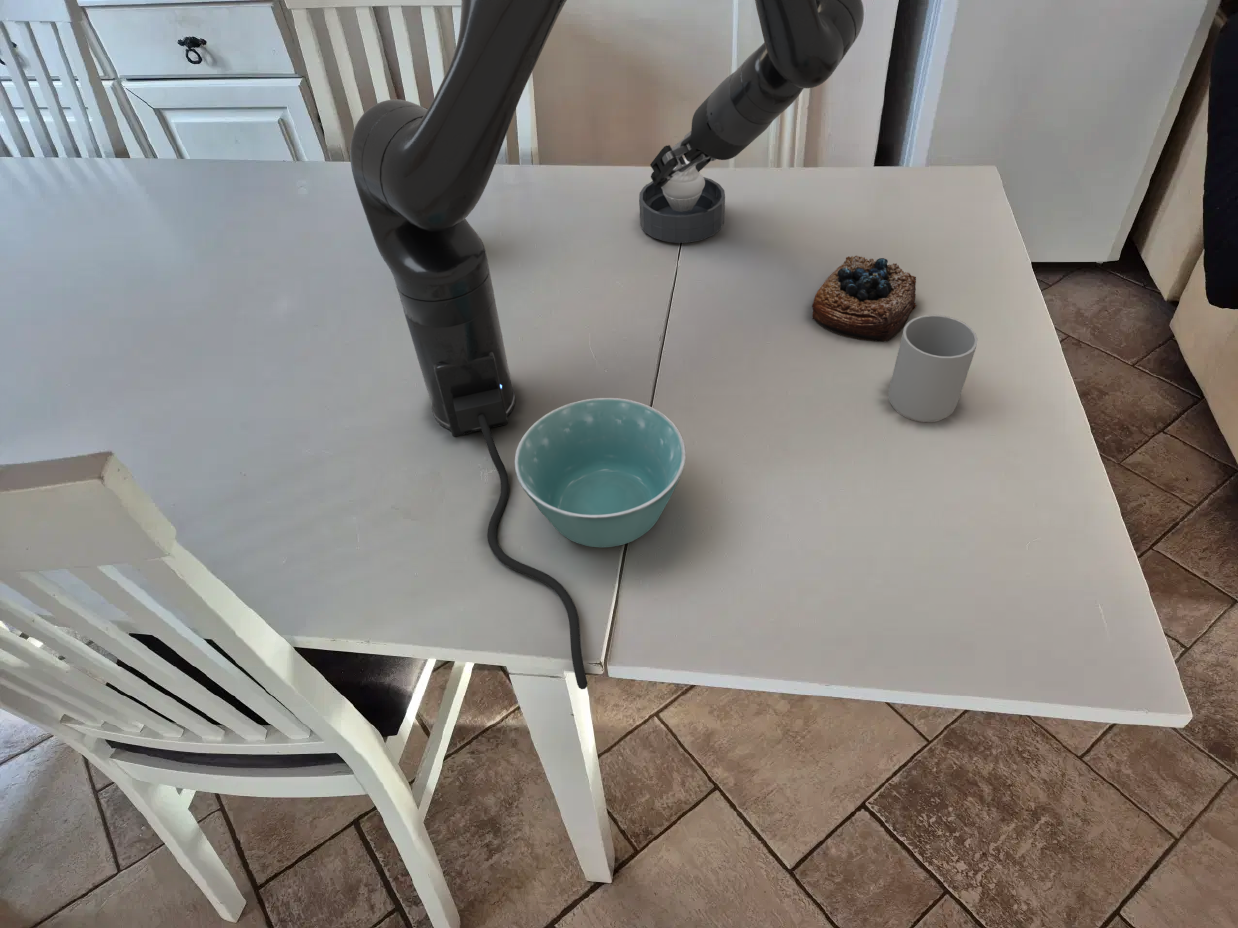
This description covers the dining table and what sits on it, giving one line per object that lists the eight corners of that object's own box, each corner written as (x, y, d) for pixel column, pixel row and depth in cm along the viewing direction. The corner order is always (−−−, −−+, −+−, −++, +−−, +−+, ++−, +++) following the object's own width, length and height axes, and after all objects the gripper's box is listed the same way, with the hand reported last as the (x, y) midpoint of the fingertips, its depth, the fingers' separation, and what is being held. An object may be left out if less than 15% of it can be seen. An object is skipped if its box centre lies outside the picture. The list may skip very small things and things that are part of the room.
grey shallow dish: (736, 236, 114) (737, 207, 111) (655, 253, 112) (654, 223, 109) (706, 197, 122) (707, 168, 119) (630, 212, 120) (629, 183, 117)
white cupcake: (658, 216, 114) (657, 169, 109) (663, 195, 118) (662, 148, 113) (702, 218, 113) (703, 170, 108) (706, 196, 117) (707, 149, 112)
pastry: (923, 299, 102) (934, 258, 97) (888, 351, 95) (898, 310, 91) (840, 275, 106) (847, 235, 102) (801, 323, 100) (806, 283, 95)
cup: (879, 412, 88) (895, 347, 82) (903, 359, 94) (919, 294, 87) (947, 431, 85) (969, 365, 79) (967, 375, 91) (989, 310, 85)
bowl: (508, 480, 84) (495, 422, 78) (649, 437, 87) (646, 378, 81) (553, 597, 74) (542, 540, 68) (711, 543, 77) (714, 484, 71)
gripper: (765, 69, 100) (702, 133, 116) (675, 102, 95) (620, 165, 110) (792, 125, 101) (725, 181, 116) (703, 161, 95) (645, 215, 111)
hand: (674, 173), depth 113 cm, fingers closed on white cupcake, 6 cm apart
